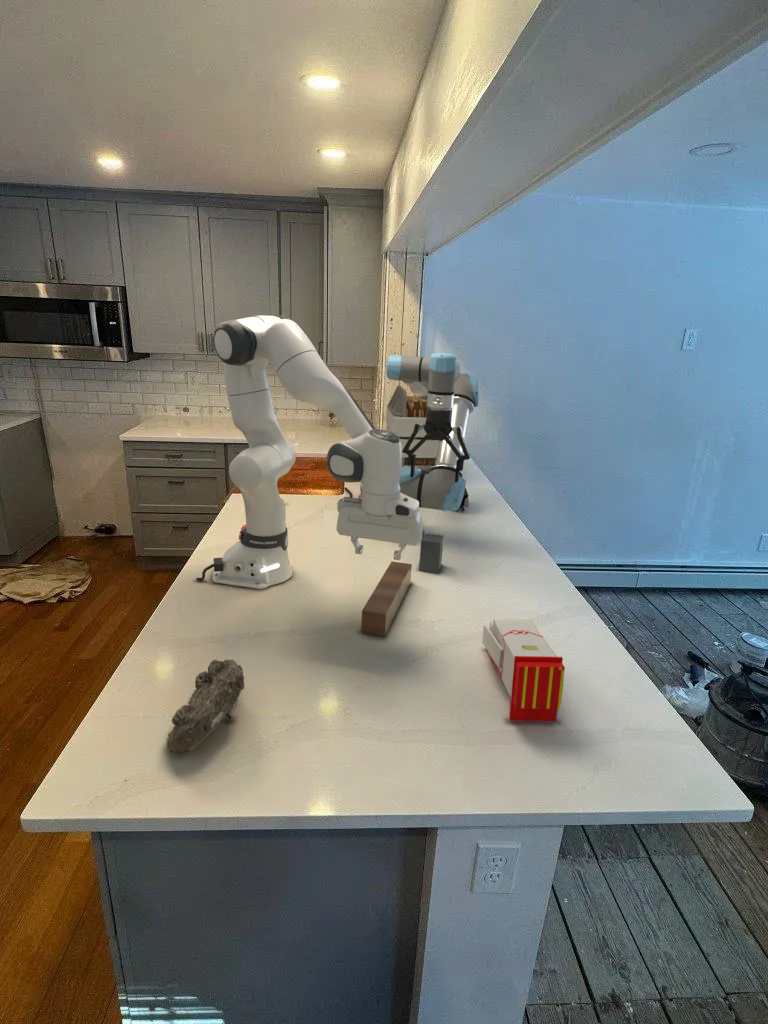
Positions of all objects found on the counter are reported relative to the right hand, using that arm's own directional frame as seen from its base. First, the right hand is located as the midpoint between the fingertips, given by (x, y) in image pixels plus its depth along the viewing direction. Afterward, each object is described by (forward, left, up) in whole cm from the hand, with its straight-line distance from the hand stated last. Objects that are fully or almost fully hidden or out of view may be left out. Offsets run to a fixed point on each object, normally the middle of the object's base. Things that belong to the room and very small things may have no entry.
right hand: (434, 478), depth 172 cm
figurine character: (-29, +46, -27) cm, 61 cm away
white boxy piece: (-74, +68, -27) cm, 104 cm away
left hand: (+21, -40, -8) cm, 45 cm away
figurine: (-58, +23, -27) cm, 68 cm away
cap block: (+5, -4, -27) cm, 27 cm away
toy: (+56, -29, -27) cm, 68 cm away
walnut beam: (+15, -30, -27) cm, 43 cm away
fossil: (+28, -86, -27) cm, 94 cm away
